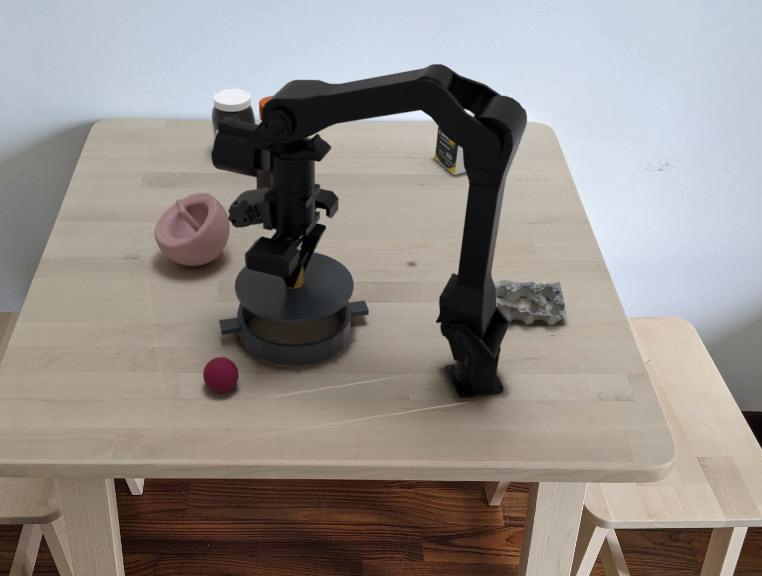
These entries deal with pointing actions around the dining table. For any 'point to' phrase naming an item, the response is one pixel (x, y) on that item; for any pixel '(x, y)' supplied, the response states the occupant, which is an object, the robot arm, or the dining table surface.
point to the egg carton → (537, 298)
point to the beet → (220, 374)
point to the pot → (293, 352)
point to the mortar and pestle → (193, 230)
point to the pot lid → (297, 291)
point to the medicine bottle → (450, 152)
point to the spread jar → (231, 107)
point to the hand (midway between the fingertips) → (294, 281)
